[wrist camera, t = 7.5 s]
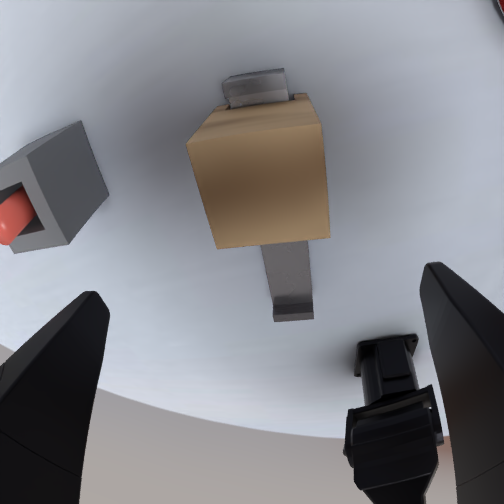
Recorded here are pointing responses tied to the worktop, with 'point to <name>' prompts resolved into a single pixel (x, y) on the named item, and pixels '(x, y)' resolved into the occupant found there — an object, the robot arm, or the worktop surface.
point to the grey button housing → (54, 187)
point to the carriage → (262, 173)
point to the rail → (288, 253)
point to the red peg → (15, 215)
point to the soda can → (501, 5)
